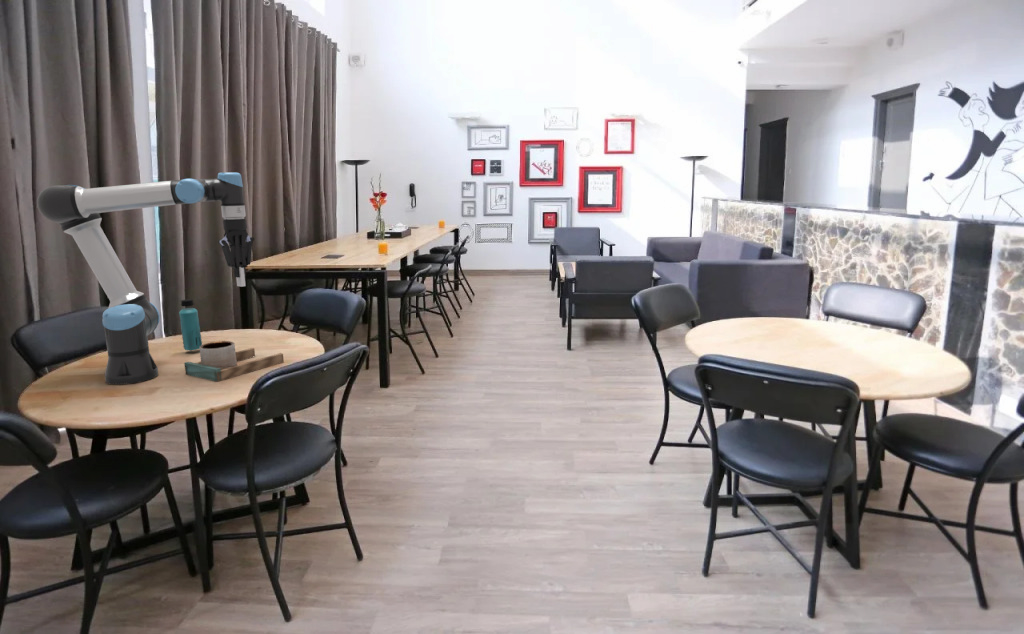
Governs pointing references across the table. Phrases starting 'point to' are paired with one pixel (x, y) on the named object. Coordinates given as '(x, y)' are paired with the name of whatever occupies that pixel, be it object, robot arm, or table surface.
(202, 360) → the planter
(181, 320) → the beverage bottle
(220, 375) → the bay
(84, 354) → the table surface
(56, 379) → the table surface
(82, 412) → the table surface
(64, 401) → the table surface
